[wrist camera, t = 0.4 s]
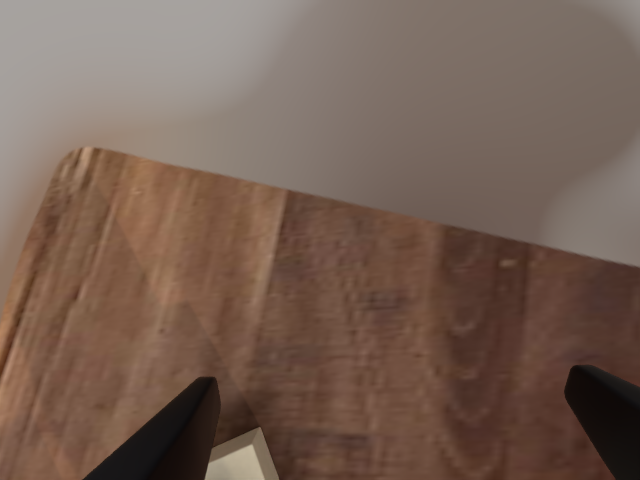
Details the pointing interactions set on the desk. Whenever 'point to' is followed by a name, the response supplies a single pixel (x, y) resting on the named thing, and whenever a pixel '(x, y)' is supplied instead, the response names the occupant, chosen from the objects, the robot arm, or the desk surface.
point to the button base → (242, 459)
